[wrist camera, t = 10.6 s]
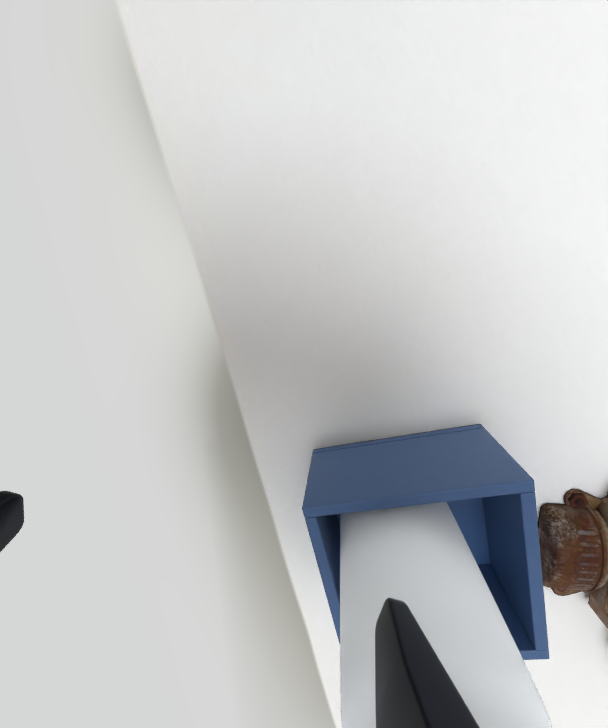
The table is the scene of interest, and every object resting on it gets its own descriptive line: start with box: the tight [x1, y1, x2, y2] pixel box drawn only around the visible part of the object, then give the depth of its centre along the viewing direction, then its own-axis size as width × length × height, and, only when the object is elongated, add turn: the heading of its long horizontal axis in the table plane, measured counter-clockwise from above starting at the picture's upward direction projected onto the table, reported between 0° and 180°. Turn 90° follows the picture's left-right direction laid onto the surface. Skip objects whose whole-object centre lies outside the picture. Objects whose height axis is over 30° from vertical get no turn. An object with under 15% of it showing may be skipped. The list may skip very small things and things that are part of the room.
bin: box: [302, 424, 549, 660], centre depth 18 cm, size 10×10×6 cm
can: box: [340, 502, 552, 728], centre depth 14 cm, size 6×6×12 cm
